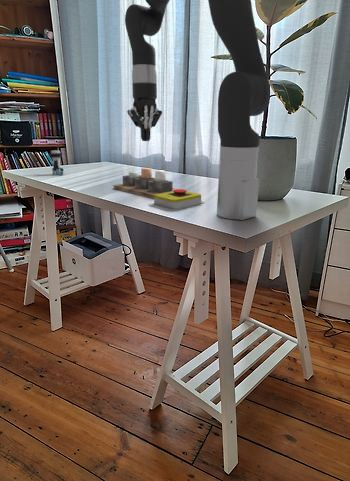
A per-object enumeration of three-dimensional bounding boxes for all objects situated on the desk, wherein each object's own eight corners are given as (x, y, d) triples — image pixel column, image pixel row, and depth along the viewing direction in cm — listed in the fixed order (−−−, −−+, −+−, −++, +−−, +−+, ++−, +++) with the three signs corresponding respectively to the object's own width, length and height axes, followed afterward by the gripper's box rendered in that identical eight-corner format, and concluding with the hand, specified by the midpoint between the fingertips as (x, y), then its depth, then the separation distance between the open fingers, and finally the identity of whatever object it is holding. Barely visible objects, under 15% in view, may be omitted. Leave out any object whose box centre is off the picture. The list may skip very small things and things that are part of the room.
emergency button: (206, 189, 99) (168, 197, 90) (206, 204, 101) (168, 213, 91) (184, 185, 106) (146, 191, 96) (184, 199, 107) (146, 206, 97)
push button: (69, 174, 147) (66, 150, 144) (59, 176, 143) (56, 151, 140) (58, 173, 151) (56, 150, 147) (48, 174, 146) (46, 150, 143)
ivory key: (167, 183, 110) (167, 171, 109) (160, 184, 108) (159, 172, 107) (160, 182, 112) (160, 169, 111) (152, 183, 110) (152, 170, 109)
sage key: (140, 183, 120) (140, 172, 119) (133, 184, 118) (132, 173, 117) (134, 182, 122) (134, 171, 121) (127, 183, 120) (126, 172, 119)
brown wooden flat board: (181, 193, 113) (182, 180, 111) (154, 198, 105) (154, 185, 103) (140, 184, 127) (139, 173, 126) (113, 188, 119) (112, 176, 118)
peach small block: (153, 180, 115) (153, 168, 113) (145, 181, 113) (145, 169, 111) (147, 179, 117) (146, 167, 116) (139, 180, 115) (139, 168, 114)
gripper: (135, 79, 98) (137, 142, 103) (168, 83, 106) (168, 140, 112) (119, 81, 103) (122, 141, 109) (152, 84, 112) (153, 139, 117)
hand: (145, 140), depth 110 cm, fingers closed
